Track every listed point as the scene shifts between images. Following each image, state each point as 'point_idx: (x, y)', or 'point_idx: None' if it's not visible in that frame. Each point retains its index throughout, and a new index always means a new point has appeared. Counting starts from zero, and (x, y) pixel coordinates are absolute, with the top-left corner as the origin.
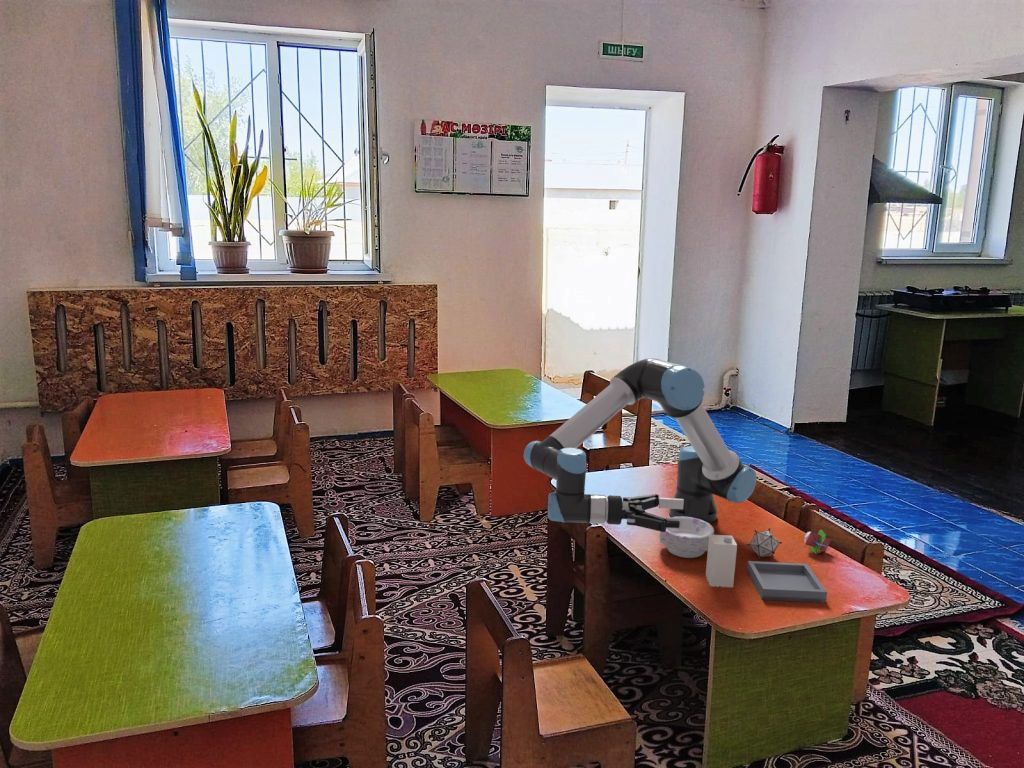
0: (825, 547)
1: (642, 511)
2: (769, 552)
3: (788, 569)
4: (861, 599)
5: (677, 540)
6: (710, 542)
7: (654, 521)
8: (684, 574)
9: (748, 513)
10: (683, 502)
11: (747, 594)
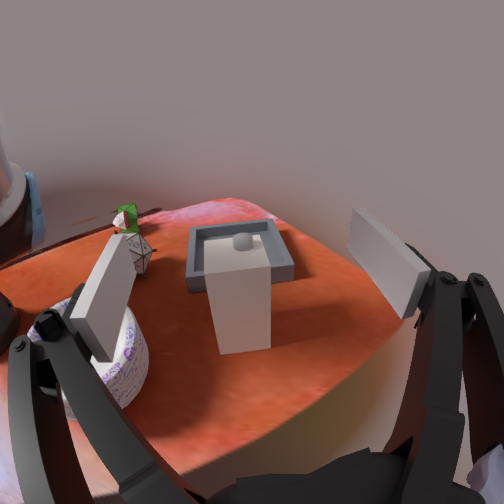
0: (142, 216)
1: (457, 413)
2: (150, 255)
3: (196, 246)
4: (251, 213)
5: (125, 378)
6: (229, 282)
7: (500, 314)
8: (222, 395)
9: (19, 275)
10: (127, 244)
11: (282, 296)
